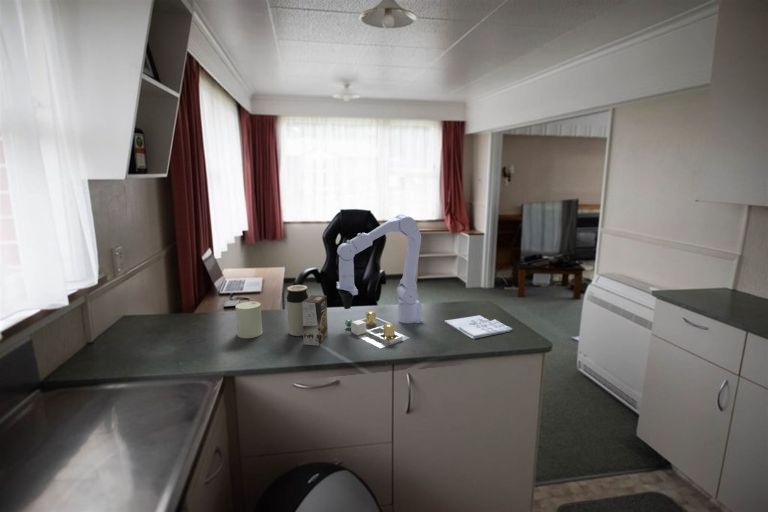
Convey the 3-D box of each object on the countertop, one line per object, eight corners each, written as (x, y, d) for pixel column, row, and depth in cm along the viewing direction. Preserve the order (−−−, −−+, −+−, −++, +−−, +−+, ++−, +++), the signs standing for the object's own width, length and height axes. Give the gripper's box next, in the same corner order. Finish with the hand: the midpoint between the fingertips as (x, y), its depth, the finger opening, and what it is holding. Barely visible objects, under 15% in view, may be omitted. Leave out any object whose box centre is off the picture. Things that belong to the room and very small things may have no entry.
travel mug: (313, 332, 160) (312, 287, 156) (296, 338, 154) (294, 291, 150) (301, 327, 165) (299, 283, 161) (284, 332, 159) (282, 287, 156)
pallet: (386, 330, 161) (386, 324, 160) (409, 341, 151) (409, 334, 151) (357, 340, 152) (357, 333, 152) (380, 351, 142) (380, 344, 142)
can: (267, 331, 161) (265, 302, 158) (250, 340, 152) (248, 309, 150) (249, 327, 164) (247, 298, 162) (232, 336, 156) (229, 305, 154)
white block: (359, 332, 159) (359, 319, 158) (366, 335, 156) (366, 322, 155) (351, 334, 157) (351, 321, 156) (357, 338, 154) (357, 324, 153)
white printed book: (472, 340, 153) (473, 335, 153) (443, 323, 171) (443, 318, 171) (513, 332, 161) (513, 327, 160) (480, 316, 179) (481, 311, 178)
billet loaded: (389, 336, 152) (389, 322, 151) (396, 340, 149) (397, 325, 148) (381, 339, 149) (381, 325, 148) (388, 343, 146) (388, 328, 145)
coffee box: (320, 346, 147) (318, 302, 144) (303, 344, 148) (301, 301, 145) (328, 336, 156) (327, 295, 152) (312, 335, 157) (310, 294, 154)
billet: (371, 323, 168) (371, 310, 167) (378, 325, 165) (377, 312, 164) (363, 325, 166) (363, 312, 164) (370, 328, 163) (370, 314, 161)
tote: (373, 319, 174) (373, 315, 174) (392, 327, 165) (392, 323, 164) (349, 326, 166) (349, 322, 166) (368, 334, 157) (368, 331, 157)
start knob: (351, 325, 163) (350, 318, 162) (361, 330, 157) (361, 323, 157) (345, 326, 161) (345, 320, 160) (355, 332, 156) (355, 325, 155)
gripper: (329, 272, 163) (330, 305, 166) (345, 280, 151) (346, 315, 153) (345, 269, 167) (346, 302, 169) (362, 277, 154) (362, 312, 157)
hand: (347, 308), depth 162 cm, fingers closed
